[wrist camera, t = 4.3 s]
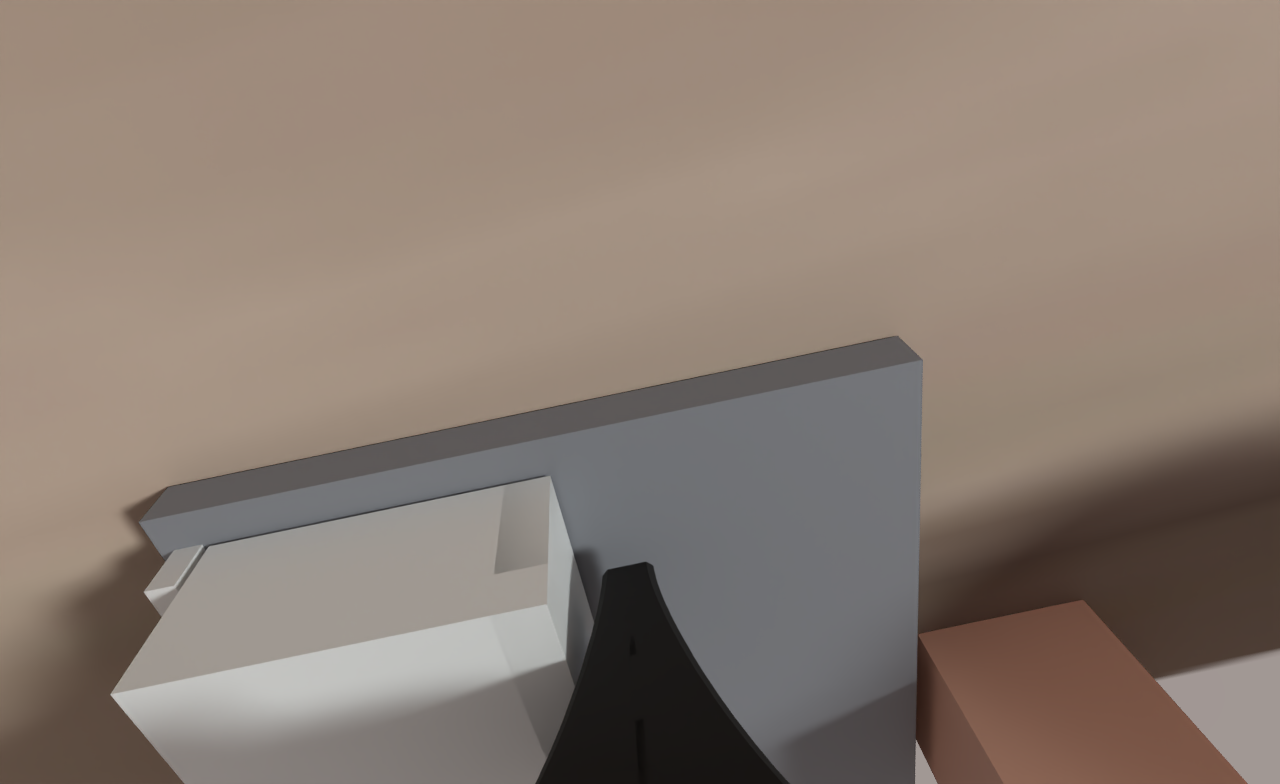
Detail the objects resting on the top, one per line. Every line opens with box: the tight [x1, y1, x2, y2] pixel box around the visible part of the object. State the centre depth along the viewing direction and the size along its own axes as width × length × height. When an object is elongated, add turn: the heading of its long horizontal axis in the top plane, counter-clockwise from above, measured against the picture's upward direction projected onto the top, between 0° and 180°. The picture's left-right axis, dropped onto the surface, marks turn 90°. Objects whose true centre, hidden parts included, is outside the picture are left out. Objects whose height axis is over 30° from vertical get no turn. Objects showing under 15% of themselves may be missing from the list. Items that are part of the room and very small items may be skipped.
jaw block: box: [916, 600, 1247, 784], centre depth 15 cm, size 4×4×5 cm
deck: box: [139, 336, 923, 784], centre depth 14 cm, size 14×14×4 cm
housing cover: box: [110, 476, 594, 784], centre depth 12 cm, size 6×5×3 cm
